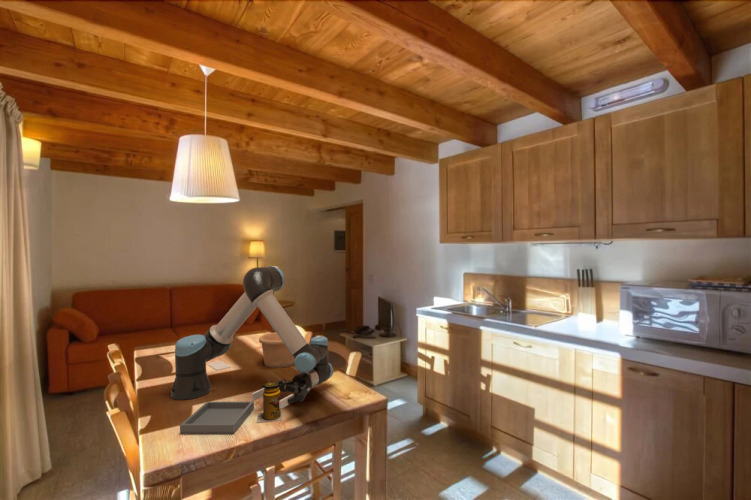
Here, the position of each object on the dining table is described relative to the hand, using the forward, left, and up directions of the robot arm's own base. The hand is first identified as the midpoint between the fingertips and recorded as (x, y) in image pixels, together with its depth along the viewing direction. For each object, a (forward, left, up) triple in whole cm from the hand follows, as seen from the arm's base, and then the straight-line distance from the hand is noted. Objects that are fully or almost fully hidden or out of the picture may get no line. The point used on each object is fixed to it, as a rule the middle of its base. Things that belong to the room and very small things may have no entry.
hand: (265, 401), depth 126 cm
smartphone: (-45, +59, -7) cm, 75 cm away
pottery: (-13, +63, -7) cm, 65 cm away
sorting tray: (-16, -1, -7) cm, 18 cm away
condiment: (+1, +2, -7) cm, 7 cm away
